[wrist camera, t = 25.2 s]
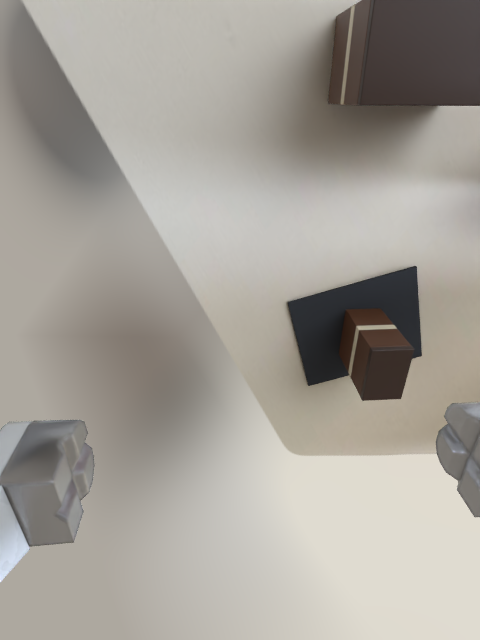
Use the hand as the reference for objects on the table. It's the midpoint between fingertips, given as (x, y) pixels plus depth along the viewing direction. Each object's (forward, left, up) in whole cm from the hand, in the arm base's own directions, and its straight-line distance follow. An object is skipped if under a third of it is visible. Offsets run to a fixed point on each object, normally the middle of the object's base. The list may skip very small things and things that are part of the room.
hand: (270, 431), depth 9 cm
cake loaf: (+16, +5, -31) cm, 35 cm away
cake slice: (+10, -20, -31) cm, 38 cm away
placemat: (+10, -20, -31) cm, 38 cm away
